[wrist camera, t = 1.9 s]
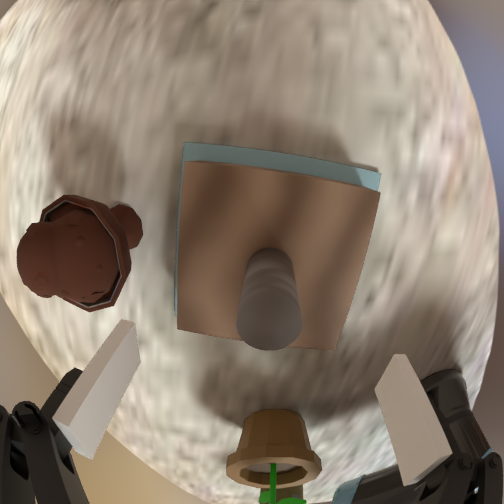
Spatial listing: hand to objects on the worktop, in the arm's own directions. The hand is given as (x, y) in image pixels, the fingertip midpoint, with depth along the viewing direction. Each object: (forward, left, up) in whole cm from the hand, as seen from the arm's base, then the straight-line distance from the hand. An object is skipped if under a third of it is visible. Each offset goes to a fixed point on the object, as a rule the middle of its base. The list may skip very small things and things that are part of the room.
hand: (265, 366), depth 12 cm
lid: (0, 0, -17) cm, 17 cm away
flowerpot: (-6, +31, -18) cm, 36 cm away
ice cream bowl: (+17, 0, -18) cm, 24 cm away
